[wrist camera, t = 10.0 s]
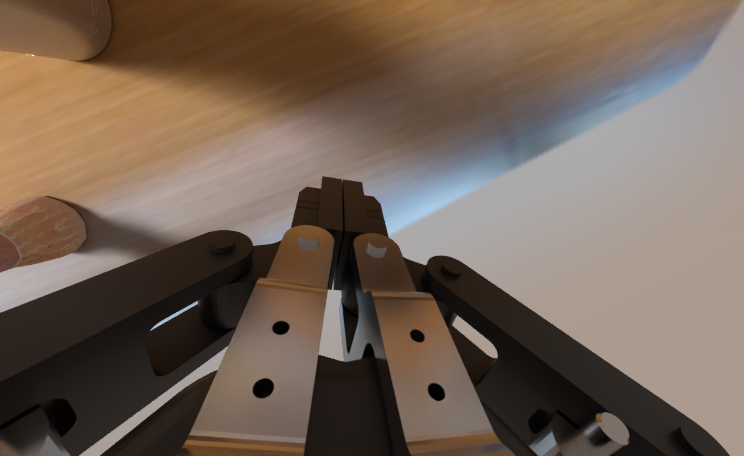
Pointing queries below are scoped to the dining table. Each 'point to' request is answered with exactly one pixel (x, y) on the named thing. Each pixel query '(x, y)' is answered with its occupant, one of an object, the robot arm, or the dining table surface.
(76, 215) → the vase
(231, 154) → the dining table surface
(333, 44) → the dining table surface
